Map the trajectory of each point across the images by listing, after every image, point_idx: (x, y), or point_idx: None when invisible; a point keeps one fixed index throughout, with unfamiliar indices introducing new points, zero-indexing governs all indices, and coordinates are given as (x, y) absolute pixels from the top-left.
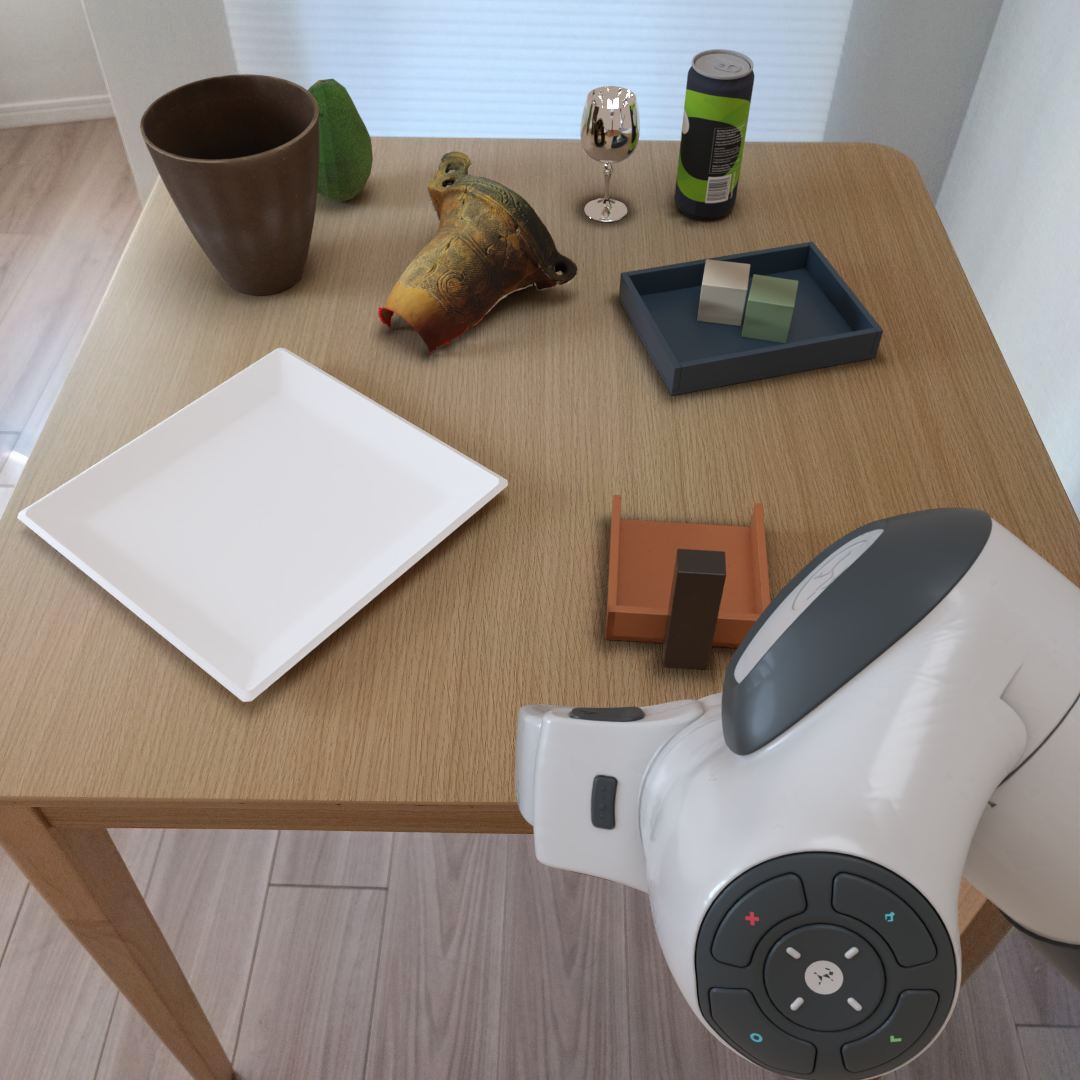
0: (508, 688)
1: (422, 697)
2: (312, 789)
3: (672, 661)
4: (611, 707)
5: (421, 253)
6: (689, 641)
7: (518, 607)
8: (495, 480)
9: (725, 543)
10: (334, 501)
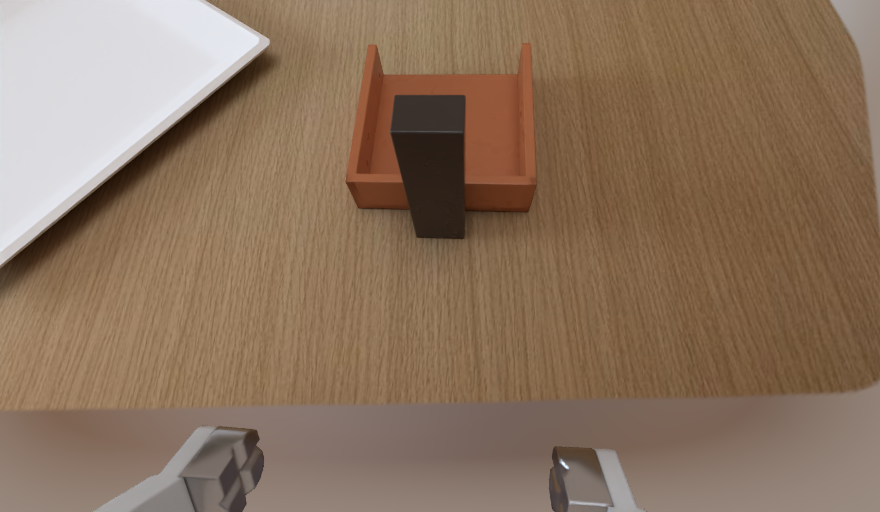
0: (249, 270)
1: (157, 285)
2: (19, 404)
3: (424, 233)
4: (191, 435)
5: None
6: (436, 215)
7: (273, 176)
8: (256, 40)
9: (491, 93)
10: (107, 74)
